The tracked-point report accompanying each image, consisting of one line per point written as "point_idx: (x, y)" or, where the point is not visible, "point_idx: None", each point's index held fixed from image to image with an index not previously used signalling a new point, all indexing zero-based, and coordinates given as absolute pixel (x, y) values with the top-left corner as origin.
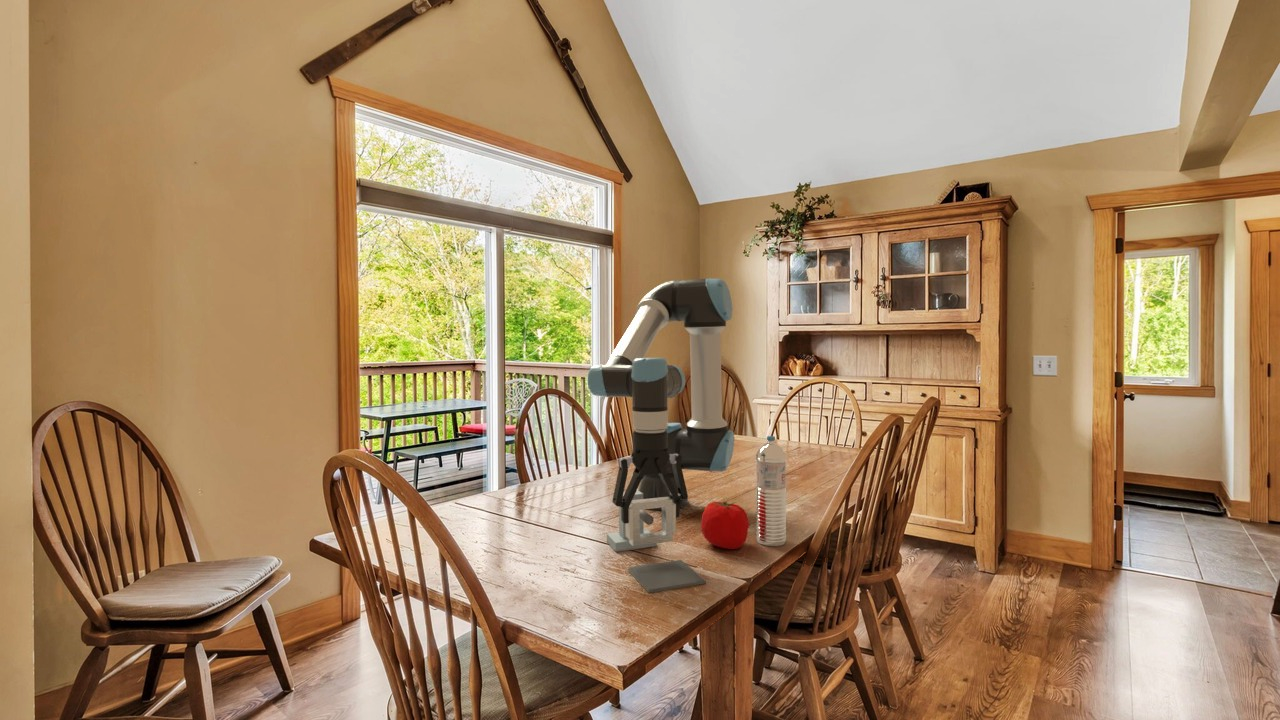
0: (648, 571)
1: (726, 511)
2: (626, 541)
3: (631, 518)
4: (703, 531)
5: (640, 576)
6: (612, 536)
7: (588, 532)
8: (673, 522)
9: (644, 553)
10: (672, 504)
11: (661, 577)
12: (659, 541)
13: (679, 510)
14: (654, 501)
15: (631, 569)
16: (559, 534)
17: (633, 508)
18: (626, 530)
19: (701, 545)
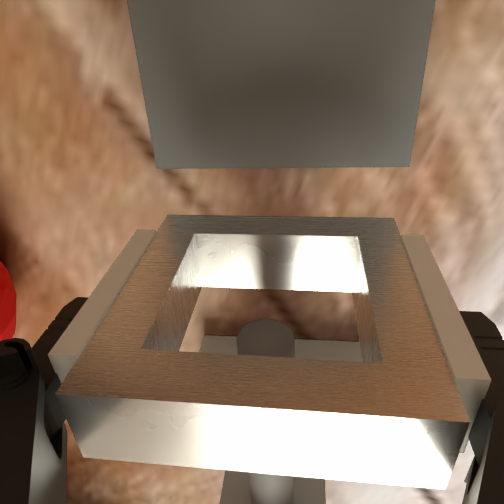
0: (344, 84)
1: None
2: None
3: (444, 318)
4: (4, 306)
5: (409, 34)
6: None
7: (372, 484)
8: (126, 267)
9: (269, 294)
10: (76, 356)
11: None
12: (239, 218)
13: (48, 327)
14: (231, 404)
15: (406, 138)
16: (461, 500)
17: (445, 380)
18: None
19: (46, 288)
